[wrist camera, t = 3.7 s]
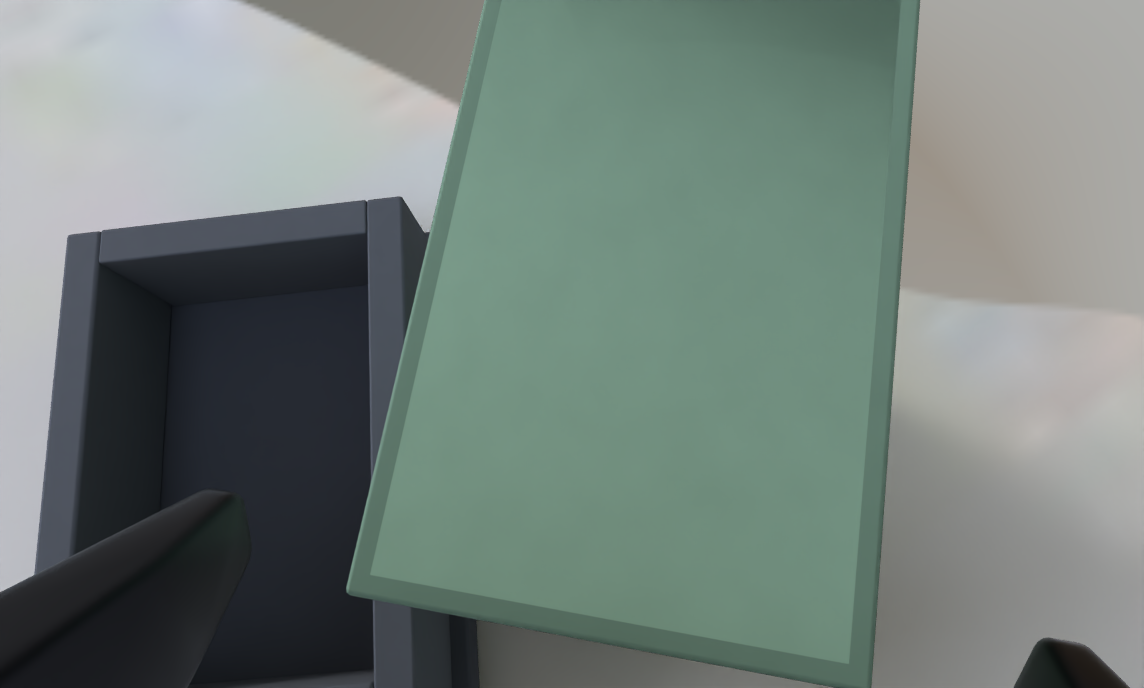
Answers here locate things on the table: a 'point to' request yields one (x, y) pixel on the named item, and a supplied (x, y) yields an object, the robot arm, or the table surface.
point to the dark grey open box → (249, 425)
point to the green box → (658, 334)
